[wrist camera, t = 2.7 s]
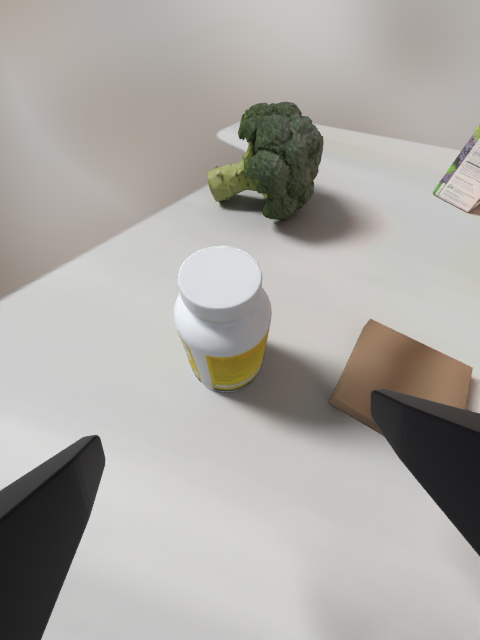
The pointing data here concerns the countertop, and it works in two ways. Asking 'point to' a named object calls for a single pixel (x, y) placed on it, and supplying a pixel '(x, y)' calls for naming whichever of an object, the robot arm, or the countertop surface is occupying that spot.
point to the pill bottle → (222, 316)
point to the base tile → (397, 373)
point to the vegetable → (273, 159)
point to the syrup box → (463, 177)
